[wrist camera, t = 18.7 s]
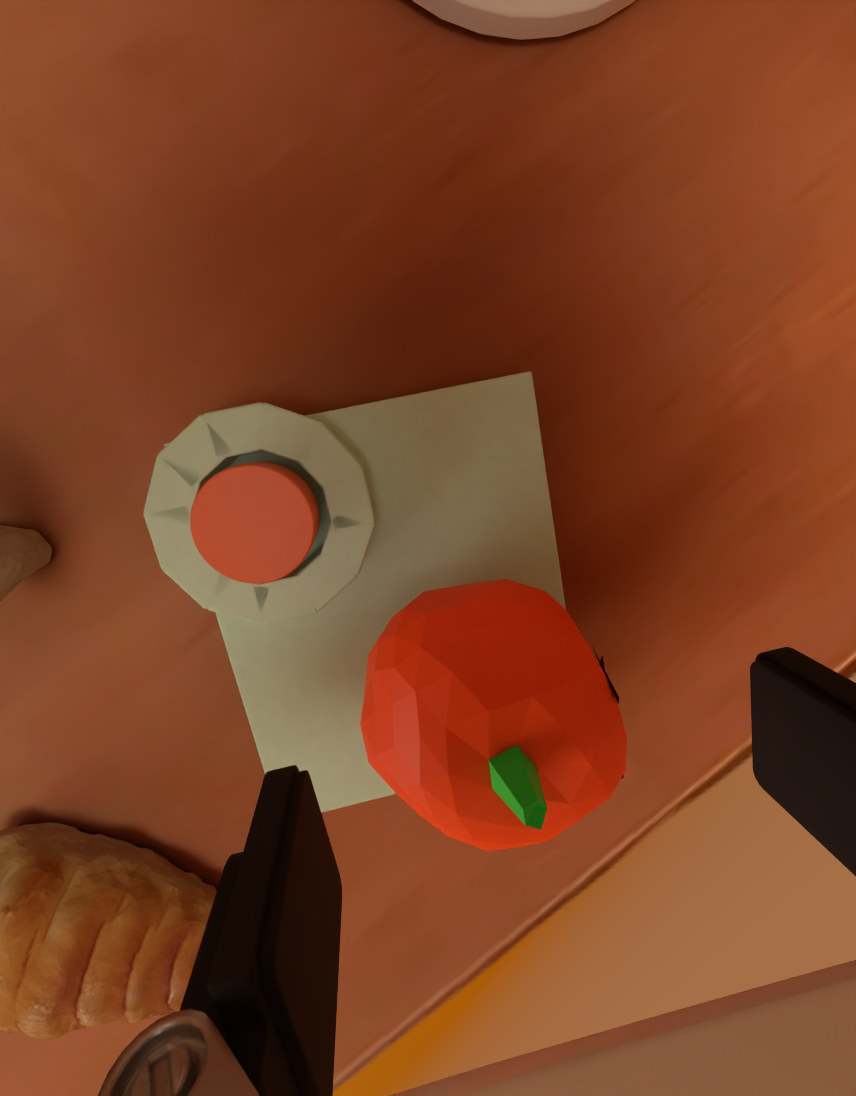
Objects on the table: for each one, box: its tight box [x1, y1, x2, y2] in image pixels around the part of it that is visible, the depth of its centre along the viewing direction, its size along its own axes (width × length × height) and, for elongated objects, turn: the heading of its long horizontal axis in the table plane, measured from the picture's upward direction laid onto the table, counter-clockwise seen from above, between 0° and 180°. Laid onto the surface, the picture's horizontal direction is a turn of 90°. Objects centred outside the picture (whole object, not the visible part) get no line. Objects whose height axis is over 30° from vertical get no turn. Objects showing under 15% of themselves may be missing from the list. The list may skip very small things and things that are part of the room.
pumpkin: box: [360, 579, 627, 851], centre depth 14 cm, size 7×8×6 cm
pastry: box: [0, 822, 217, 1040], centre depth 18 cm, size 9×7×4 cm
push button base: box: [143, 371, 566, 813], centre depth 17 cm, size 13×12×4 cm
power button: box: [190, 462, 320, 584], centre depth 14 cm, size 3×3×2 cm
